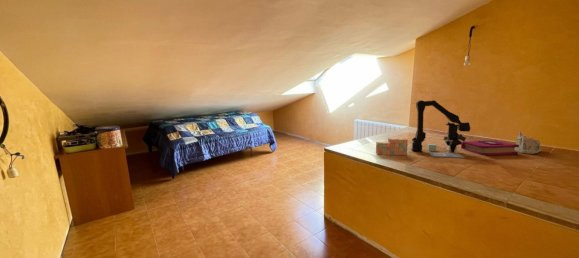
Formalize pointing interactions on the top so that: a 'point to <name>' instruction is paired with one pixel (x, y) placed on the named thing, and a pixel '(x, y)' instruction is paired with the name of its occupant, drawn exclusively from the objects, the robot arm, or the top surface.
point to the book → (489, 147)
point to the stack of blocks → (392, 147)
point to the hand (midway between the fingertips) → (451, 151)
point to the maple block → (450, 150)
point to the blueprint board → (446, 155)
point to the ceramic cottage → (527, 144)
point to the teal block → (431, 147)
